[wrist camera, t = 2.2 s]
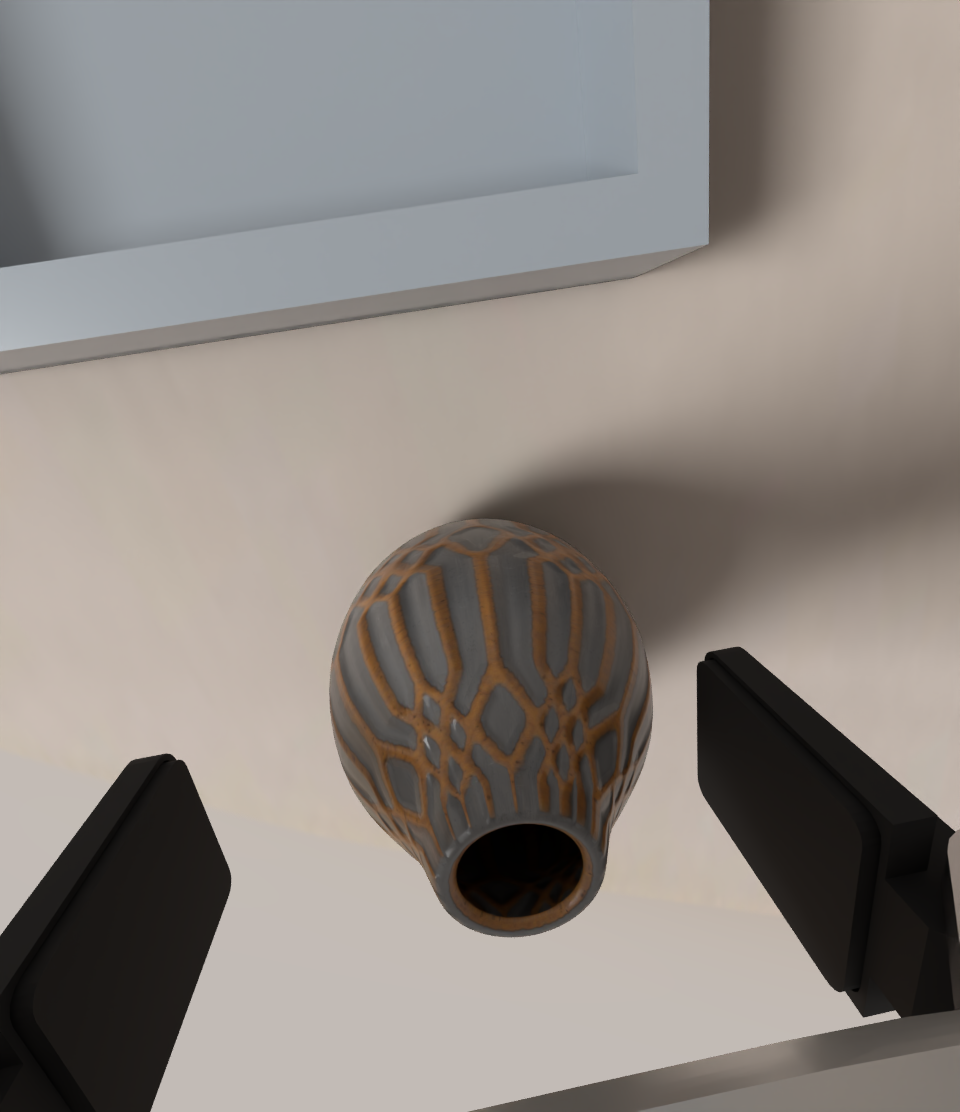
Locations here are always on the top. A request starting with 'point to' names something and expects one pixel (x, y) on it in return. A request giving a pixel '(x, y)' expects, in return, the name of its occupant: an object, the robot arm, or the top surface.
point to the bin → (333, 161)
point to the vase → (494, 718)
